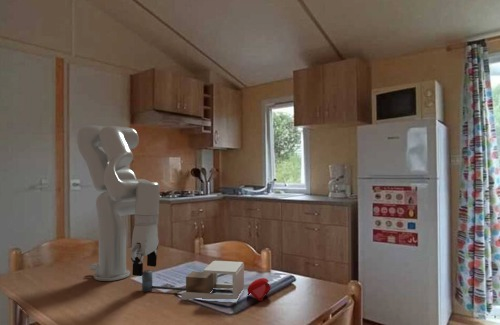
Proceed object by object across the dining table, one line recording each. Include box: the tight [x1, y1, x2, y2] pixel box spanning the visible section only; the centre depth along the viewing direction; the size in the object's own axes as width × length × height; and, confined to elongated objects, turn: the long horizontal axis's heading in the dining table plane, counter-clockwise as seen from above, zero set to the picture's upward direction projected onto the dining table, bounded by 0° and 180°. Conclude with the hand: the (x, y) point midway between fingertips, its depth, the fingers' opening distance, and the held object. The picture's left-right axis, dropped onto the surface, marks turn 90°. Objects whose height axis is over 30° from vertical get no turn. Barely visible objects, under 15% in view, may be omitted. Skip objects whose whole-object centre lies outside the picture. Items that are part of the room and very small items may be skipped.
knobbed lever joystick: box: [141, 269, 214, 293], centre depth 113 cm, size 23×6×6 cm, turn 79°
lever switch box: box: [180, 260, 245, 301], centre depth 111 cm, size 17×11×9 cm, turn 79°
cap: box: [246, 277, 272, 302], centre depth 108 cm, size 8×6×6 cm
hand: (144, 270), depth 116 cm, fingers open, 9 cm apart
